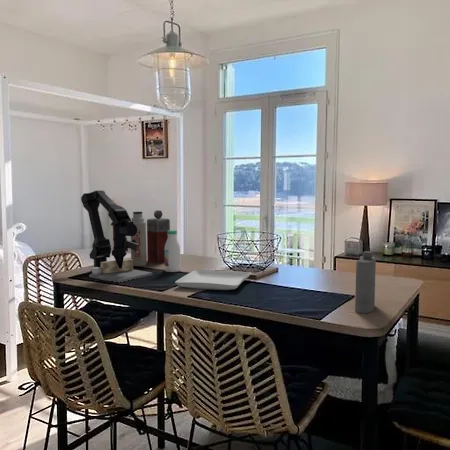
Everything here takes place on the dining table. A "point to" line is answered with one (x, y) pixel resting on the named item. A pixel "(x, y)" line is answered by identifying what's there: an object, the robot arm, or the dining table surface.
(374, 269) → the flask
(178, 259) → the milk bottle
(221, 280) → the square plate
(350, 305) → the dining table surface
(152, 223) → the square decanter
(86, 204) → the robot arm
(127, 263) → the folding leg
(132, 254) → the thermos bottle
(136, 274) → the dark grey flat piece
